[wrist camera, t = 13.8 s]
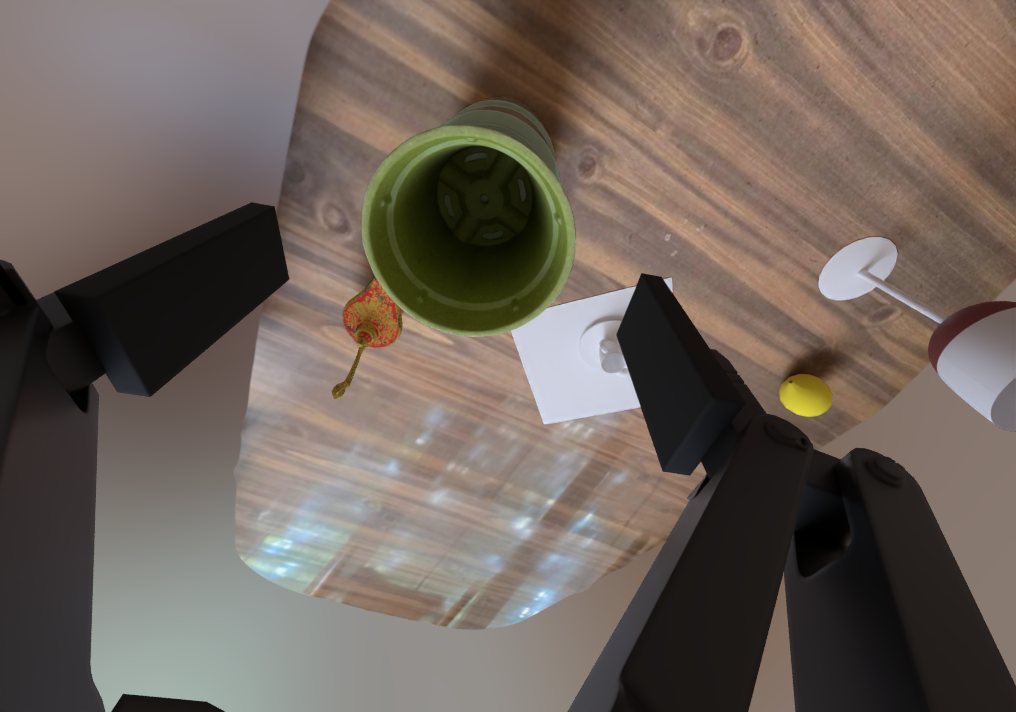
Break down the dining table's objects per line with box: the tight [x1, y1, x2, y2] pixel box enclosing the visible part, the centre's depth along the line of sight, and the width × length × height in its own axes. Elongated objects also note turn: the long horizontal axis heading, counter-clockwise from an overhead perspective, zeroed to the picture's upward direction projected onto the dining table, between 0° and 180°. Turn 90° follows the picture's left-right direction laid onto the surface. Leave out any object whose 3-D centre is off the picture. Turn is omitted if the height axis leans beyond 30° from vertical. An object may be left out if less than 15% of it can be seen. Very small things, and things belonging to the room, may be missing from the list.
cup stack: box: [440, 97, 561, 239], centre depth 30 cm, size 10×10×16 cm
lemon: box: [779, 374, 833, 417], centre depth 49 cm, size 7×5×5 cm
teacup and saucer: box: [577, 319, 630, 378], centre depth 47 cm, size 9×8×4 cm
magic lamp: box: [332, 277, 403, 399], centre depth 41 cm, size 7×18×11 cm, turn 151°
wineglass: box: [818, 237, 1016, 432], centre depth 33 cm, size 8×9×20 cm
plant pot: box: [361, 125, 576, 337], centre depth 20 cm, size 9×9×9 cm
